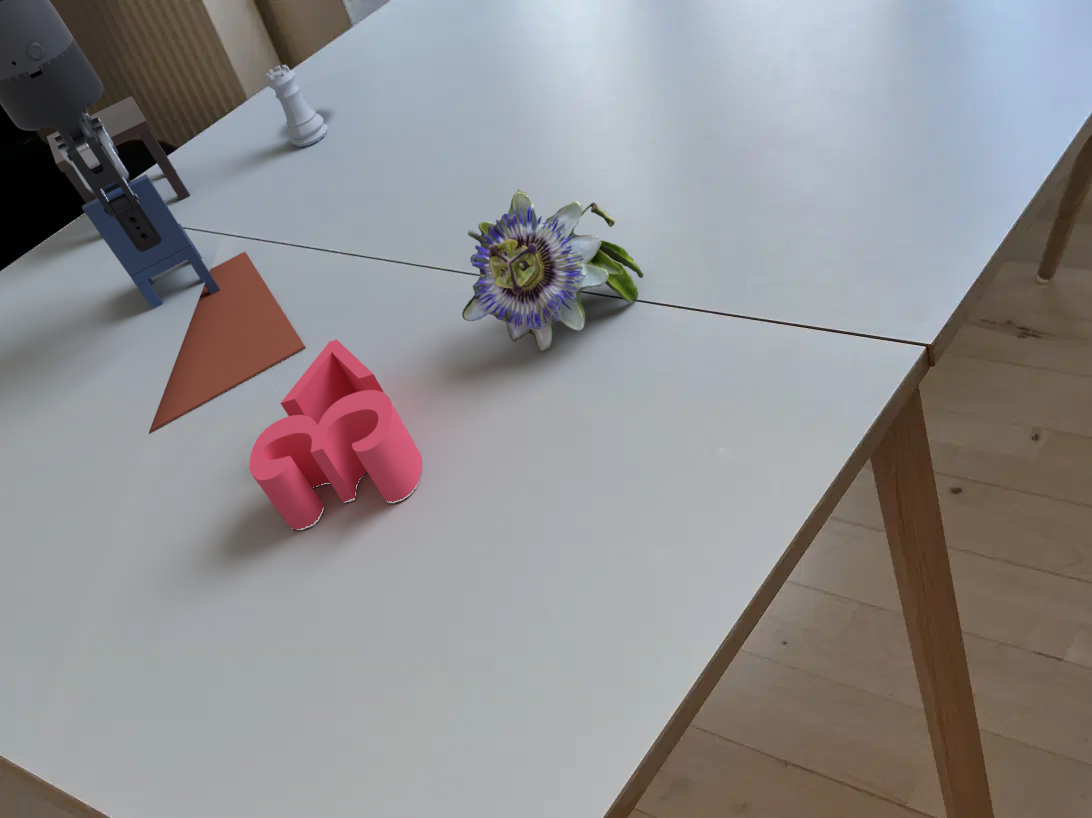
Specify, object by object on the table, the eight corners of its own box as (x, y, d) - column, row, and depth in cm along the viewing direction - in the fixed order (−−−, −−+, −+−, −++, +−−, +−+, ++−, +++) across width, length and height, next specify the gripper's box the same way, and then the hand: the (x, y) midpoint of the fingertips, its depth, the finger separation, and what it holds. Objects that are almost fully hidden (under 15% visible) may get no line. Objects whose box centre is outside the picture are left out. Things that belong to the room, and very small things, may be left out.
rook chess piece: (325, 142, 122) (290, 74, 116) (288, 152, 123) (252, 85, 117) (333, 123, 125) (300, 56, 120) (297, 133, 126) (263, 67, 120)
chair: (150, 296, 106) (74, 187, 98) (207, 266, 107) (137, 156, 99) (161, 321, 102) (82, 209, 94) (220, 290, 103) (148, 177, 95)
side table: (95, 207, 127) (46, 136, 120) (175, 167, 129) (131, 95, 122) (107, 237, 119) (56, 164, 113) (192, 195, 121) (146, 120, 115)
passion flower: (571, 397, 86) (438, 335, 80) (566, 298, 93) (443, 232, 86) (666, 314, 80) (529, 239, 73) (654, 214, 86) (528, 135, 79)
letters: (303, 408, 85) (272, 358, 82) (426, 371, 84) (400, 319, 81) (280, 537, 75) (243, 486, 72) (420, 496, 74) (389, 443, 71)
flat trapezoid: (112, 322, 105) (110, 320, 105) (245, 252, 108) (244, 251, 107) (150, 432, 89) (149, 431, 89) (306, 347, 92) (304, 346, 92)
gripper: (-25, 53, 91) (93, 221, 102) (-15, 98, 81) (115, 280, 91) (61, 14, 92) (168, 184, 103) (81, 53, 82) (198, 237, 93)
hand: (143, 229), depth 97 cm, fingers open, 8 cm apart
